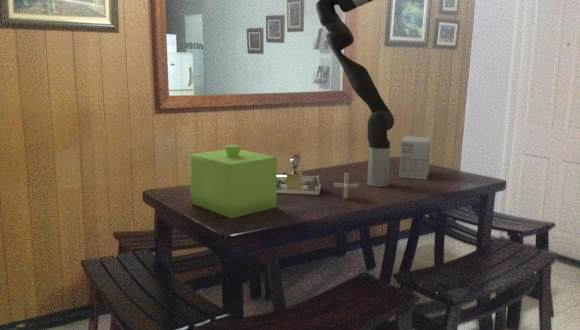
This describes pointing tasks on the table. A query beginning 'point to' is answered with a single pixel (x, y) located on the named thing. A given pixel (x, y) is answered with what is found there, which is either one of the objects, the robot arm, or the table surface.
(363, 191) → the table surface
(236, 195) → the canister
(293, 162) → the valve lever
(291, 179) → the valve fixture
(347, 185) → the pipe connector
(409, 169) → the supplement box
